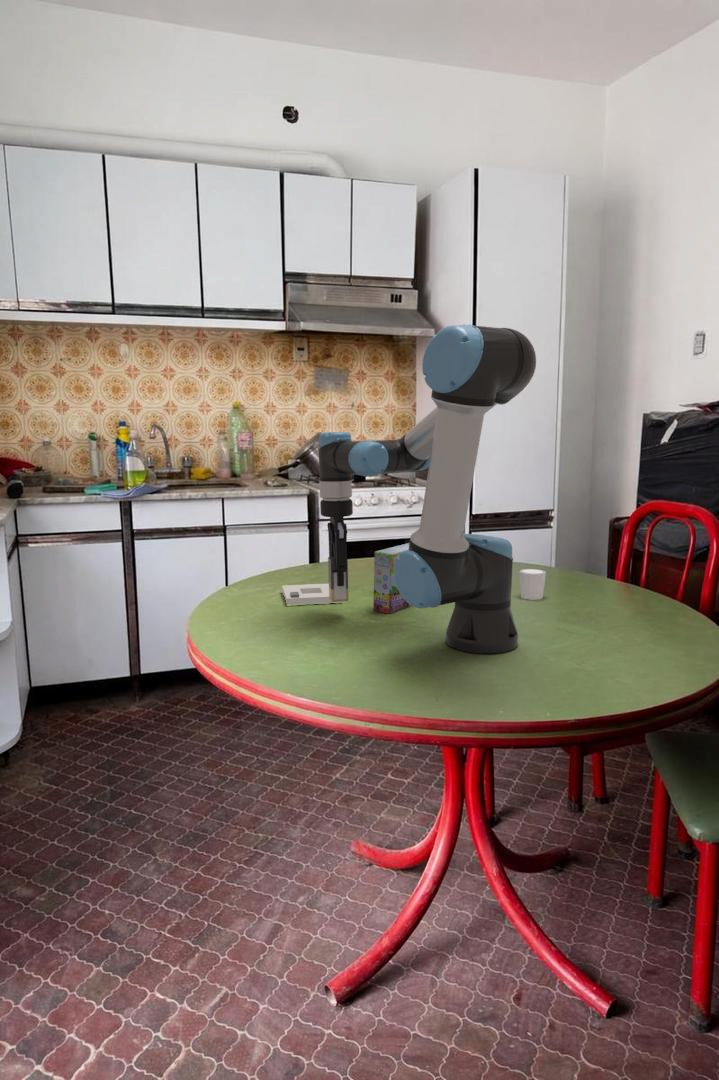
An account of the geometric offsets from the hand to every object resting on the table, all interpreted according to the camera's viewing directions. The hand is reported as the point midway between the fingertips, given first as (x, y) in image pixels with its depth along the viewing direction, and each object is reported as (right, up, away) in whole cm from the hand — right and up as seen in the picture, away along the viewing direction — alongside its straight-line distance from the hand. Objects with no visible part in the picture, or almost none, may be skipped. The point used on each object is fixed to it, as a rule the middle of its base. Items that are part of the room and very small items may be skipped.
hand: (338, 596), depth 180 cm
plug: (0, -1, 0) cm, 1 cm away
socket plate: (-8, -2, +18) cm, 20 cm away
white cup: (+50, -2, +19) cm, 54 cm away
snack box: (+17, -3, +13) cm, 21 cm away
